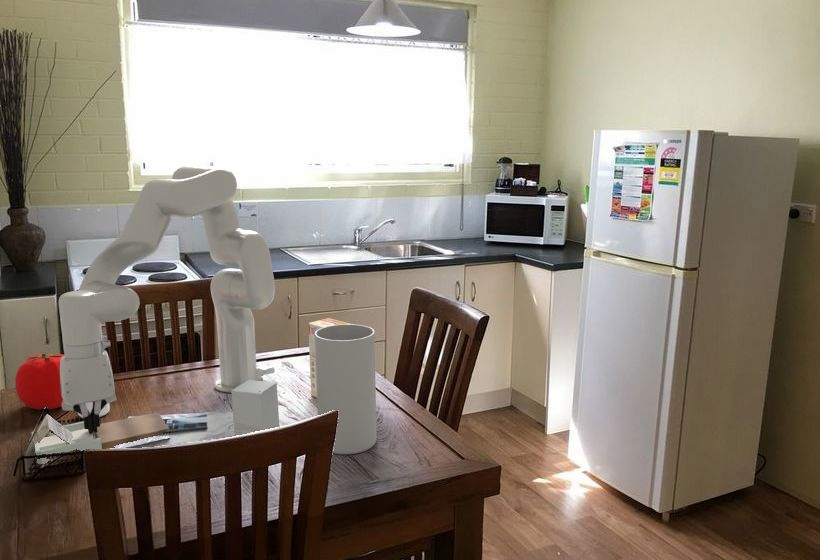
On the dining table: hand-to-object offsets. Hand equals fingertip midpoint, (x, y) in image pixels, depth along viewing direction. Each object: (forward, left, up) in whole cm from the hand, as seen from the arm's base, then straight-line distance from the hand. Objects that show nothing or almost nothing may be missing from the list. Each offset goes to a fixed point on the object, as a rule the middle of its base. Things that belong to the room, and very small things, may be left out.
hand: (92, 430), depth 151 cm
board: (-8, 0, -3) cm, 9 cm away
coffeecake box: (-57, +5, -4) cm, 57 cm away
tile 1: (+8, 0, -3) cm, 8 cm away
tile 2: (+3, 0, -3) cm, 4 cm away
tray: (+5, 0, -3) cm, 6 cm away
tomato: (+5, -31, -4) cm, 32 cm away
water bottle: (-3, -19, -4) cm, 20 cm away
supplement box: (-31, +17, -4) cm, 35 cm away
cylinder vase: (-47, +29, -4) cm, 55 cm away
